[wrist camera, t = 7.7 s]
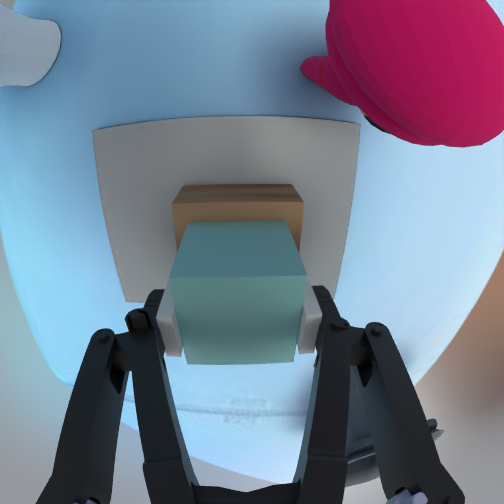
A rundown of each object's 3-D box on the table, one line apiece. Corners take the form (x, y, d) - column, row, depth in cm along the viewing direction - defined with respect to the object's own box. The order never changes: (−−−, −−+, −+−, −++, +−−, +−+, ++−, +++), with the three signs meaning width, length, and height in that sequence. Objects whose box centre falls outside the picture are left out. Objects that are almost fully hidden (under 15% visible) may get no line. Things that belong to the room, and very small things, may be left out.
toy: (300, 136, 19) (419, 205, 6) (259, 37, 15) (306, -82, 2) (394, 109, 18) (552, 150, 5) (360, 17, 14) (499, -40, 1)
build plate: (98, 129, 18) (92, 130, 17) (355, 123, 19) (360, 124, 18) (129, 295, 26) (126, 302, 25) (331, 292, 27) (333, 299, 26)
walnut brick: (183, 185, 20) (171, 203, 16) (292, 184, 20) (304, 202, 17) (192, 276, 24) (185, 306, 20) (285, 275, 24) (293, 304, 21)
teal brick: (188, 222, 17) (168, 277, 12) (285, 220, 17) (307, 275, 12) (197, 298, 20) (187, 364, 15) (280, 297, 20) (293, 361, 15)
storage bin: (362, 415, 43) (381, 479, 30) (282, 426, 42) (291, 498, 29) (411, 341, 32) (454, 424, 20) (305, 353, 31) (330, 463, 19)
